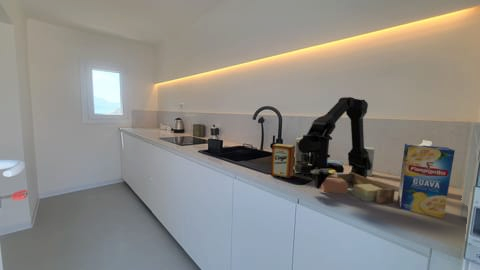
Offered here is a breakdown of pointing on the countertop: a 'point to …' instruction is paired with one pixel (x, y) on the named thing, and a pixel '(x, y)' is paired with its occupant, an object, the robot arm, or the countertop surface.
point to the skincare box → (371, 157)
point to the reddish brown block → (334, 185)
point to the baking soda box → (282, 160)
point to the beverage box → (425, 179)
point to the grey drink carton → (298, 156)
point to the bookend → (346, 178)
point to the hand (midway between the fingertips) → (317, 188)
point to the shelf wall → (382, 194)
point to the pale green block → (365, 192)
